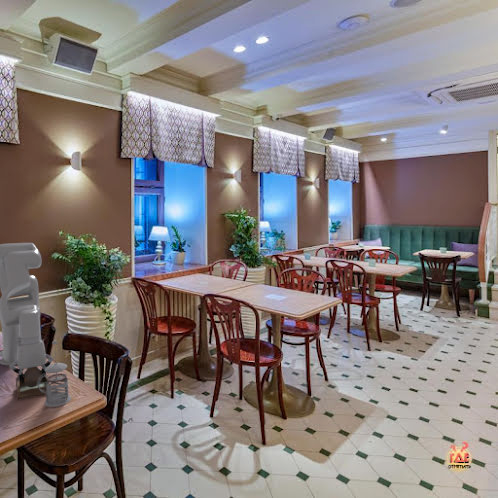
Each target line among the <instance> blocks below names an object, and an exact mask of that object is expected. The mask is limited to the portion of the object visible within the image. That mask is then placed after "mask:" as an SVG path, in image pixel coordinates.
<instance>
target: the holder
mask: <svg viewBox="0 0 498 498" xmlns="http://www.w3.org/2000/svg"><path fill="white" fill-rule="evenodd" d="M46 375H47V378H48V377H49V375H48V374H46ZM44 378H45V379H42V380H41V382H40V384H39V388H40V389H41V390H44V391H43V392H45V391H46V382H47V378H46V377H45V376H44ZM50 383H51V382H50ZM50 383H49V384H50ZM49 384H48V385H49ZM16 386H17V387H16V389H17V390H16V393H17V401H20V400H24V399H28V398H33V397H37V396H42V395H46V393H43V392H41V391H40V390H39V388H38V386H35V387H27V386H26V385H25V384H24V383H23V384H22V382H21V381H18V380H17V381H16Z"/></svg>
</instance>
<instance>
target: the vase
mask: <svg viewBox="0 0 498 498" xmlns="http://www.w3.org/2000/svg"><path fill="white" fill-rule="evenodd" d="M41 370H42V369H41V368H40V367H39V366H37V367H32V368H27V369H25V371H24V372H23V374H24V376H23V380H24V384H25V385H26V386H27V387H35V386H38V385H37V382H38V384H40V383H39V381H40V382H41V380H42V379H41V378H42V376H41V375H42V372H41ZM40 376H41V377H40ZM39 377H40V379H41V380H40V379H39ZM38 379H39V381H38Z"/></svg>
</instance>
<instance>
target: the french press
mask: <svg viewBox="0 0 498 498" xmlns="http://www.w3.org/2000/svg"><path fill="white" fill-rule="evenodd" d="M51 344H52V345H57V344H58V341H57V340H53V341H52V343H51ZM56 353H57V352H54V357H55V358H54V360H55V363H50V365H49V366H48V367H46V368H45V372H46V374H45V375H44V376H45V377H46V378H47V375H48V374H52V375H48V378H47V382H46V391H45V392H43V391H44V390H41V389H40V388H39V384H38V382H37V385H38V388H39V390H40V391H41V392H43V393H46V394H45V399H46V400H45V401H44V402H43V405H44V406H45V407H48V408H57V407H60V406H63V405H66V404H68V403H69V402H70V401H71V400H72V396H71V395H70V394H69V381H68V380H69V379H68V375H67V374H66V373H60V372H64V371H65V370H67V368H68V365H67V364H66V363H63V362H57V358H56V357H57V356H56V355H57V354H56ZM41 376H42V375H41ZM41 376H40V377H41ZM44 376H43V377H44ZM40 377H39V379H40ZM43 377H42V378H43ZM42 378H41V379H42ZM39 379H38V381H39ZM41 379H40V380H41ZM39 383H40V381H39ZM49 383H50V384H49ZM48 384H49V385H48ZM55 384H56V385H55Z"/></svg>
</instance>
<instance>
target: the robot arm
mask: <svg viewBox="0 0 498 498" xmlns="http://www.w3.org/2000/svg"><path fill="white" fill-rule="evenodd" d="M42 263H43V261H42V254H41V253H40V250H39V249H38V248H37V246H36V245H35V244H34V243H33V242H17V243H15V242H14V243H13V242H11V243H2V244H1V243H0V293H1V296H0V325H1V335H2V349H3V350H0V357H1V359H0V365H2V366H6V367H8V368H9V369H10V370H11V371H13V372H14V373H16V374H17V376H18V375H19V381H21V382H22V384H23V383H24V380H23V374H24V370H27V369H28V368H32V367H41V370H42V377H43V376H44V375H45V374H46V375H47V372H45V368H46V367H48V366H49V365H51V364H52V362H54V360H55V358H54V356H51V355H49V354H47V353H46V348H45V343H44V340H43V339H42V334H41V332H42V331H41V308H40V293H39V291H40V290H39V282H38V279H37V277H36V276H35V275H32V274H30V273H29V270H31V269H39V268H40V267H41V266H42ZM25 295H26V296H25ZM17 296H21V297H17ZM10 297H13V298H10ZM16 366H17V367H16ZM42 379H45V378H44V377H43V378H42Z"/></svg>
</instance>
